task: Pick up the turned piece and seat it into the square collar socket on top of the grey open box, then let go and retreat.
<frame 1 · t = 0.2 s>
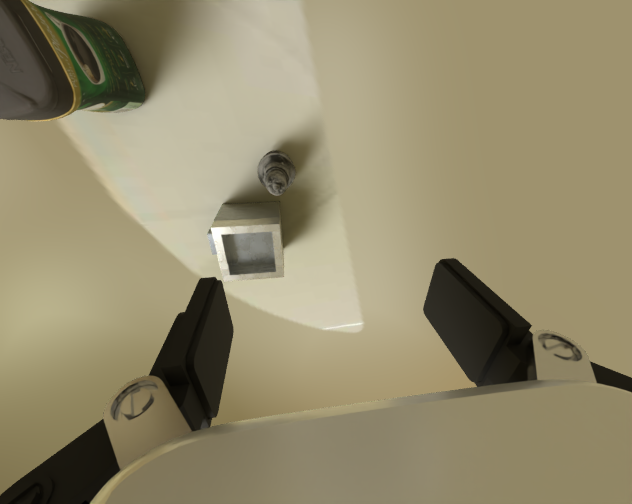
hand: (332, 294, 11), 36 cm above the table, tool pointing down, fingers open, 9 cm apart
dark grey turned piece: (276, 167, 42), on the table
grey open box: (254, 227, 47), on the table
coffee jar: (109, 71, 33), on the table
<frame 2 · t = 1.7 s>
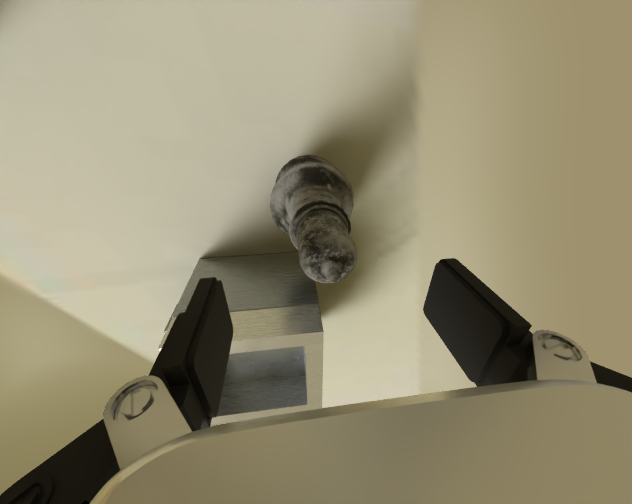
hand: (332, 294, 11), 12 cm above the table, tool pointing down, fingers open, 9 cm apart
dark grey turned piece: (307, 188, 21), on the table
grey open box: (261, 295, 26), on the table
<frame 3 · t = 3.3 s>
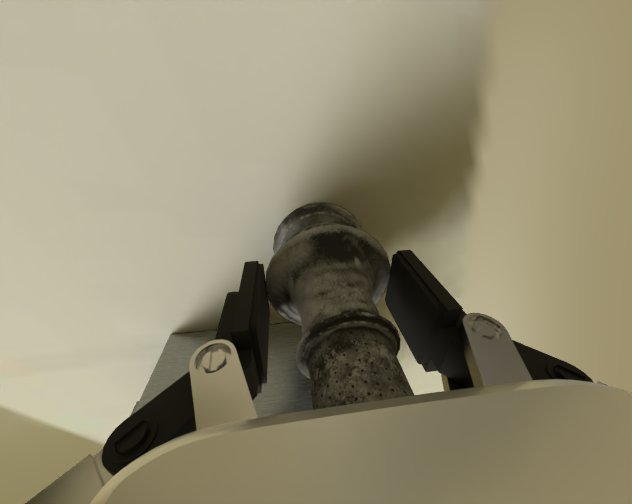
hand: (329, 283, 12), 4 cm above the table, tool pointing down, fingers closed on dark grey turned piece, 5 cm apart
dark grey turned piece: (318, 244, 15), on the table, touching gripper
grey open box: (256, 371, 20), on the table
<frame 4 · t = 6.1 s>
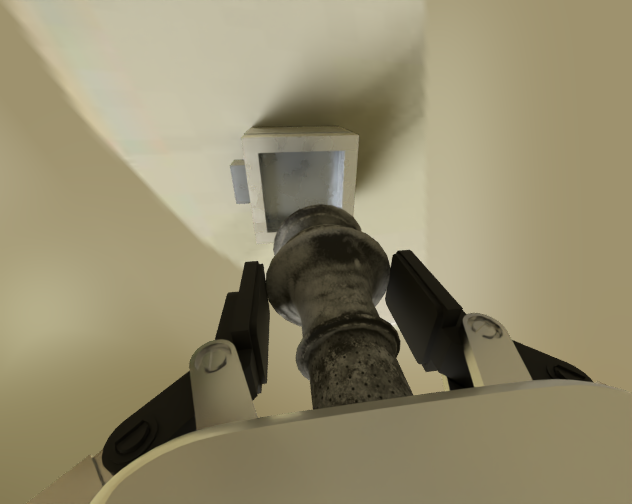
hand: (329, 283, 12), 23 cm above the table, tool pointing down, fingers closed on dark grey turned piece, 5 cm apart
dark grey turned piece: (318, 245, 15), point 20 cm above the table, touching gripper
grey open box: (297, 170, 32), on the table
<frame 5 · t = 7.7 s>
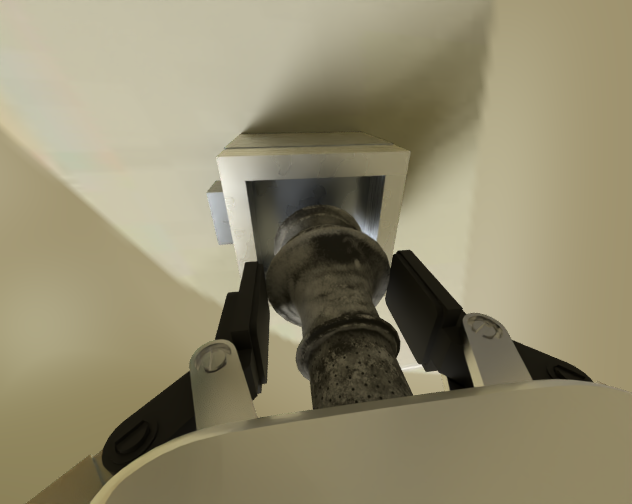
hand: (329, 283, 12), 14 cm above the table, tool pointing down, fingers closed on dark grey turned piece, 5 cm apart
dark grey turned piece: (318, 245, 15), point 10 cm above the table, touching gripper
grey open box: (304, 192, 23), on the table
when the fingers open (11 cm above the table, at t = 9.1 s): dark grey turned piece stays where it is, resting on grey open box.
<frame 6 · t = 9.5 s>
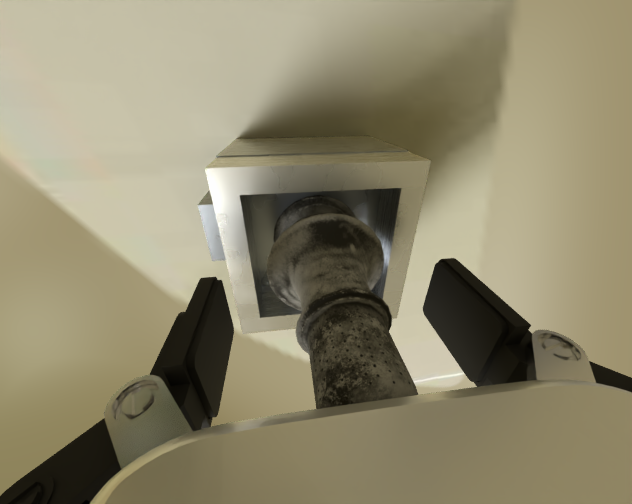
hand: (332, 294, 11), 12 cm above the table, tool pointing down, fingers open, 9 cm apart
dark grey turned piece: (316, 235, 16), point 7 cm above the table, touching grey open box
grey open box: (306, 200, 21), on the table
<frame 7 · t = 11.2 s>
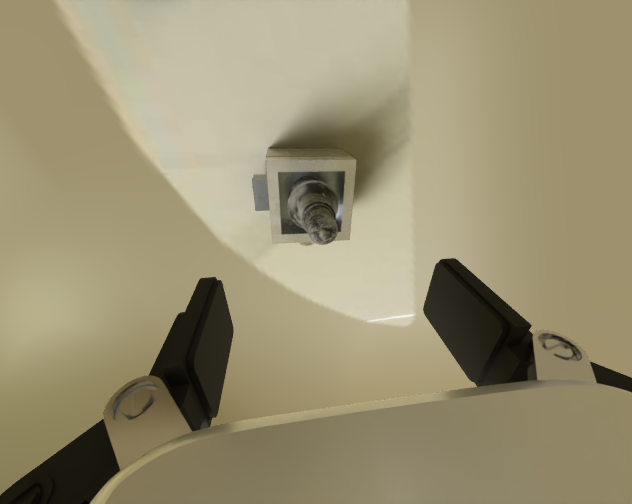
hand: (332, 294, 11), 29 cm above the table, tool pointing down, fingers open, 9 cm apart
dark grey turned piece: (309, 196, 32), point 7 cm above the table, touching grey open box
grey open box: (304, 183, 38), on the table
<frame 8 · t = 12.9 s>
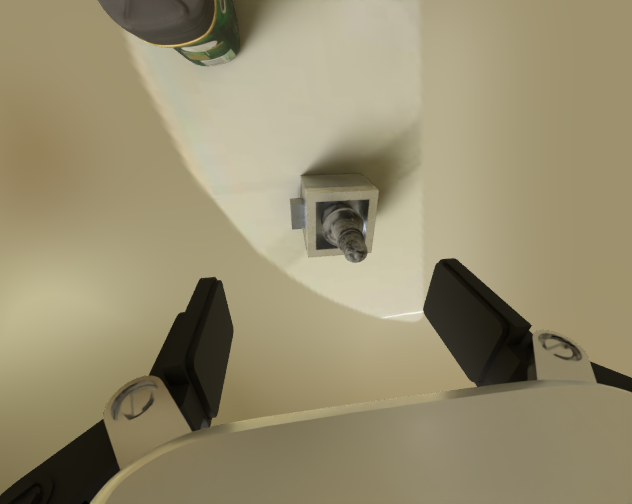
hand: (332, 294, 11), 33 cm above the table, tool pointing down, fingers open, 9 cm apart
dark grey turned piece: (337, 217, 38), point 7 cm above the table, touching grey open box
grey open box: (330, 203, 44), on the table
coffee jar: (203, 19, 30), on the table
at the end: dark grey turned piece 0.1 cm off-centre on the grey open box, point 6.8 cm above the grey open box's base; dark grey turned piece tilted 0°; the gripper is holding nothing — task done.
